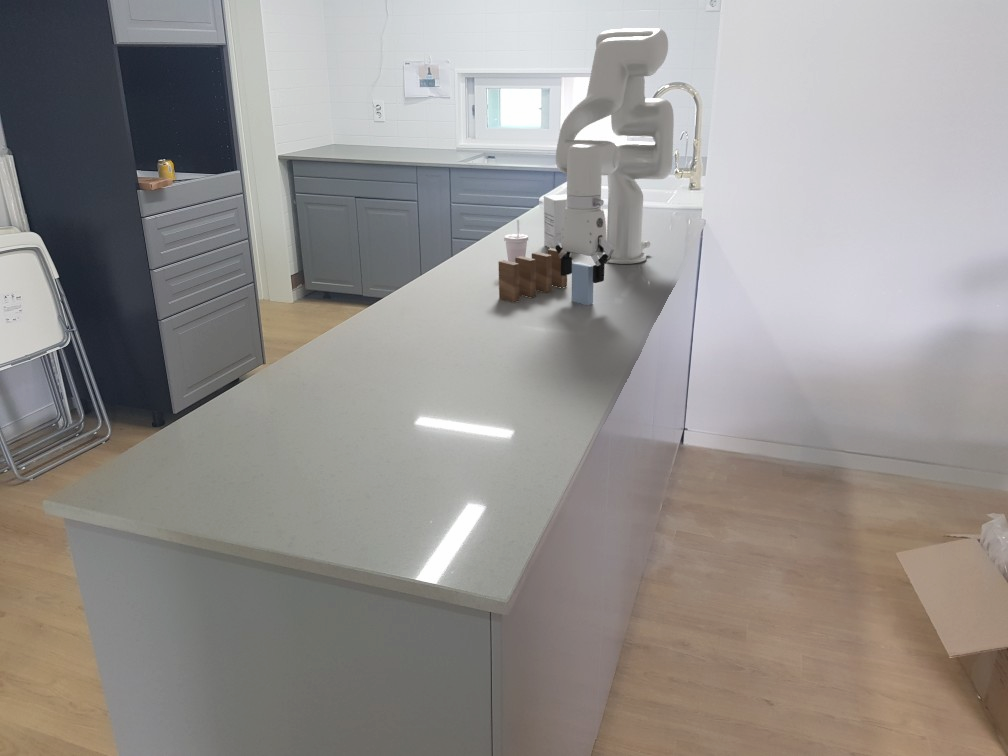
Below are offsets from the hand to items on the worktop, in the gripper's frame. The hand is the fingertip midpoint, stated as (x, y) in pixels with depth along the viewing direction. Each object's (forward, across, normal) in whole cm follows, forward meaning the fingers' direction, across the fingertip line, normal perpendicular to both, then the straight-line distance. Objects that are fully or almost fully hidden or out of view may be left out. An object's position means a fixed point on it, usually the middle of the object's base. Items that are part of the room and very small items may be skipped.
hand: (582, 278), depth 179 cm
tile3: (+6, +14, -2) cm, 16 cm away
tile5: (+6, +14, +10) cm, 18 cm away
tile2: (+6, +14, -7) cm, 17 cm away
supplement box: (+5, +42, -40) cm, 58 cm away
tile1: (+6, 0, 0) cm, 6 cm away
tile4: (+6, +14, +4) cm, 16 cm away
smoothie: (+6, +31, -10) cm, 33 cm away
